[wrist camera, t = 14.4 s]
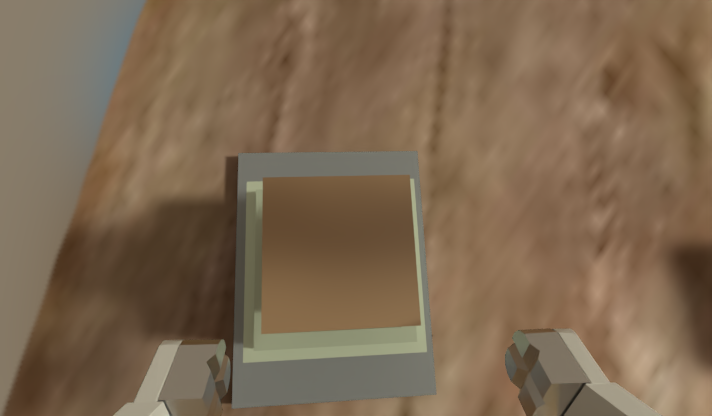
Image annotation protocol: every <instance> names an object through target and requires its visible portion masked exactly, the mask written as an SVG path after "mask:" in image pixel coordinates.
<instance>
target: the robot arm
mask: <svg viewBox="0 0 712 416" xmlns="http://www.w3.org/2000/svg"><path fill="white" fill-rule="evenodd" d="M512 339H513V341H514V344H513V345H511V346H510V347H508V349H507V351H506V354H505V366H506V369H507V373H508V375H509V378H510V380H511V382H512V383H513V384H515V385H516V386H517V387H518V388H519V389H520V390H519V395H518V398H519V400H520V403H521V405H522V407H523V409H524V411H525V414H526V416H662V415H660V414H659V413H658V412H656V411H655V410H653V409H652V408H651V407H649V406H648V405H646V404H645V403H644V402H642V401H641V400H639V399H638V398H636V397H635V396H634V395H632V394H631V393H629V392H628V391H627V390H625V389H624V388H622V387H621V386H620V385H618V384H617V383H615V382H609V380H608V379H607V377H606V376H605V375H604V373H603V372H602V370H601V369H600V367H599V366H598V364H597V363H596V362H595V360H594V359H593V357H592V356H591V354H590V353H589V351H588V350H587V349H586V347H585V346H584V344H583V343H582V341H581V340H580V338H579V337H578V336H577V334H576V333H575V332H574V331H573V330H572V329H568V328H564V329H529V330H518V331H516V332H515V333H514V335H513V337H512ZM225 350H226V345H225V341H224V339H207V340H164V341H163V342H162V343H161V344H160V345H159V347H158V349H157V351H156V353H155V356H154V358H153V360H152V362H151V364H150V367H149V369H148V371H147V373H146V375H145V378H144V380H143V382H142V384H141V386H140V388H139V391H138V393H137V395H136V397H135V399H134V402H131V403H126V404H125V405H124V406H123V407H122V408H121V409H119V410H118V411H117V412H116V413H115V414H114V415H113V416H222V412H223V408H222V405H221V402H220V400H221V399H222V398H223V397H224V396H225V395H226V394H227V391H228V387H229V382H230V372H231V368H230V360H229V357H228V356H227V355H225Z"/></svg>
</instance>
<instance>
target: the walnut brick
mask: <svg viewBox="0 0 712 416" xmlns="http://www.w3.org/2000/svg"><path fill="white" fill-rule="evenodd" d="M403 326H421V318H420V305H419V291H418V278H417V265H416V252H415V238H414V225H413V212H412V198H411V185H410V175H367V176H313V177H263V204H262V307H261V334H274V333H292V332H311V331H329V330H348V329H366V328H384V327H403Z"/></svg>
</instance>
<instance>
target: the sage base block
mask: <svg viewBox="0 0 712 416" xmlns="http://www.w3.org/2000/svg"><path fill="white" fill-rule="evenodd" d="M367 175H410V185H411V198H412V212H413V225H414V238H415V252H416V265H417V278H418V291H419V305H420V318H421V326H403V327H384V328H366V329H348V330H329V331H311V332H292V333H274V334H261V307H262V204H263V177H313V176H367ZM421 395H436V383H435V370H434V357H433V344H432V332H431V319H430V306H429V294H428V281H427V268H426V255H425V243H424V230H423V217H422V204H421V192H420V179H419V166H418V153H417V151H392V152H304V153H238V190H237V229H236V267H235V306H234V344H233V382H232V409H233V408H247V407H262V406H276V405H291V404H305V403H320V402H334V401H349V400H363V399H378V398H392V397H407V396H421Z"/></svg>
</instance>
